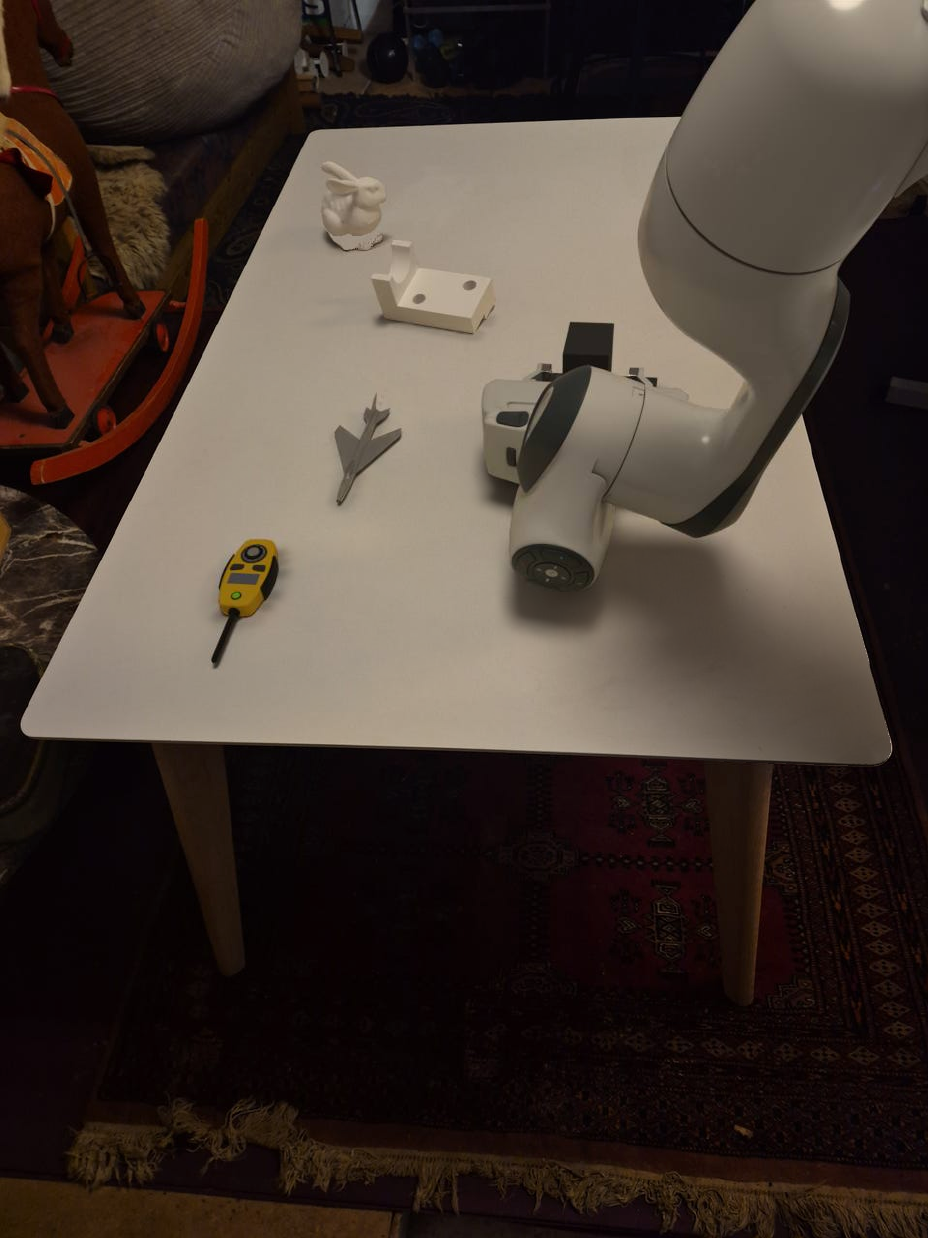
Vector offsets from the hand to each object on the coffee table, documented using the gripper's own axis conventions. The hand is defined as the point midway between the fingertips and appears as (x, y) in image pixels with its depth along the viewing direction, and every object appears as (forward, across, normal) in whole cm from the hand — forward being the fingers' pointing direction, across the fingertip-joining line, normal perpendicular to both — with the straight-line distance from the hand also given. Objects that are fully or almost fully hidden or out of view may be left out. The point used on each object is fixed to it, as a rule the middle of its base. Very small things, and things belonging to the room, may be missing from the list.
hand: (590, 371), depth 89 cm
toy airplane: (-6, +24, +7) cm, 26 cm away
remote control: (-31, +29, +7) cm, 43 cm away
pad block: (-1, 0, +6) cm, 6 cm away
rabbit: (+42, +39, +7) cm, 58 cm away
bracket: (+22, +22, +7) cm, 32 cm away
